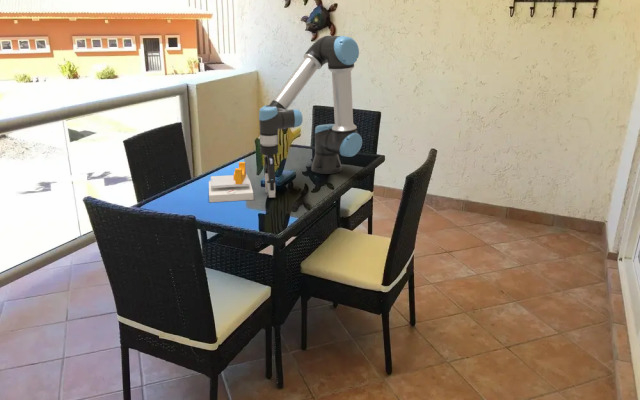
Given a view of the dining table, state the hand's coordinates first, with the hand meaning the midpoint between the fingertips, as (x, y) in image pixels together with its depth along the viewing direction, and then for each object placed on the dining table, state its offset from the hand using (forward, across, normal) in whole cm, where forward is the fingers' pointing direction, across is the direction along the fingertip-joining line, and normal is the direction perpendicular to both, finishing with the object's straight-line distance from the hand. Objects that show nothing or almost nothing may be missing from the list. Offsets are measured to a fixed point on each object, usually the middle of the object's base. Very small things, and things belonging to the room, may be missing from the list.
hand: (270, 192), depth 215 cm
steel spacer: (0, 0, 0) cm, 0 cm away
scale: (0, -2, -17) cm, 17 cm away
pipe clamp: (-5, -3, -13) cm, 14 cm away
